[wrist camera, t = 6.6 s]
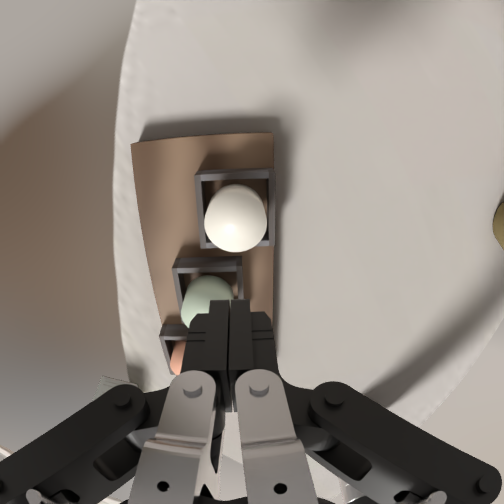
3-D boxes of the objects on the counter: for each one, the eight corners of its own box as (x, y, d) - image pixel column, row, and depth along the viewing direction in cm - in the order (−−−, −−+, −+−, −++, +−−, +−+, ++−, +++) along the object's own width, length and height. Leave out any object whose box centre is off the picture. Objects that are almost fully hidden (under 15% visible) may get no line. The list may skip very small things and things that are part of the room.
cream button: (263, 183, 22) (266, 192, 20) (263, 235, 24) (266, 251, 22) (206, 185, 22) (202, 195, 19) (210, 237, 24) (206, 253, 21)
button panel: (271, 132, 24) (276, 134, 20) (269, 364, 36) (272, 388, 33) (138, 141, 24) (121, 146, 20) (179, 366, 36) (174, 388, 32)
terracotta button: (210, 333, 30) (208, 353, 28) (215, 361, 32) (213, 380, 29) (171, 333, 30) (166, 353, 27) (178, 361, 32) (174, 379, 29)
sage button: (232, 274, 26) (231, 293, 23) (234, 314, 28) (234, 334, 25) (183, 275, 26) (177, 294, 23) (189, 314, 28) (185, 335, 25)
